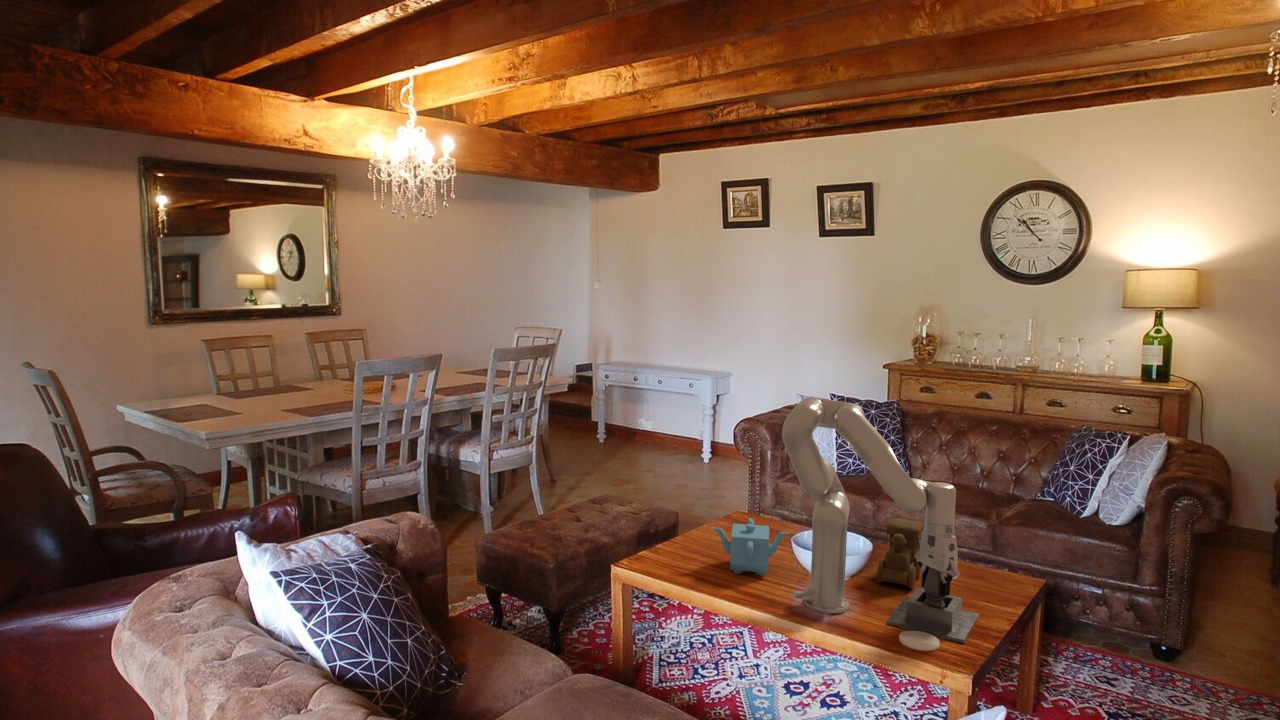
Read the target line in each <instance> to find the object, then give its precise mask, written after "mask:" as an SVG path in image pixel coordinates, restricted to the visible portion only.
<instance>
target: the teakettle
mask: <svg viewBox="0 0 1280 720" xmlns="http://www.w3.org/2000/svg"><path fill="white" fill-rule="evenodd" d="M754 522H755V519H754V518H753V517H749V518H748V523H745V524H744V523H732V529H731V535H730V541H729V540H728V538H727V536H726V533H725V531H724V530H723V528H720V527H718V526H717V527H716V526H712V527H711V529H712V530H714V531H716V532H717V534H718V536H719V538H720V541H721V545H722V547H723V549H724V551H725V552H726V553H728V554H730V556H729V557H730V560H729V561H730V562H729V570H730V571H732V573H733V572H734V573H733V574H735V573H736V574H737V575H741V574H743V572H752V573H755V575H756V574H757V576H759V575H763V576H765V575H766V574H767V573H769V557H772V556H773V555H775V554H776V552H777V551H778V549H779V547H780V544H781V541H782V539H783V538H784V537H785V536H787V535H790V532H788V531H781V532H779V533H778V534H776V537H775V539H774V541H773V542H772V543H771V544H770V527H769V525H759V524H758V525H757V524H755V523H754ZM740 573H741V574H740Z"/></svg>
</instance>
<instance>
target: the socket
mask: <svg viewBox="0 0 1280 720" xmlns="http://www.w3.org/2000/svg"><path fill="white" fill-rule="evenodd" d="M926 595H927V594H926V593H925V590H924V588H922V587H918V588H917V589H915V591H914V592H913V594H912V595H911V596H910V597H909V596H906V597H905V598H904V599H903V601H902V602H901V603H900V604H899V606H898V607H897V608H896V609H895V610H894V611H893V613H892V614H891V615H890V616H889V618H887V620H886V625H890V626H893V627H897V628H901V629H905V630H907V631H921V632H925V633H928V634H931V635H933V636H935V637H936V638H941V639H944V640H948V641H951V640H952V642H955V641H956V643H959V642H961V644H963V643H964V644H965V643H966V641H967V639H968V638H969V636H970V634H971V632H972V630H973V629H972V628H974V627H975V626H976V624H977V622H976V621H978V620H977V619H980V613H977V612H974V611H970V610H965V609H962V607H963V606H962V605H963V597H960V596H956V595H951V594H950V595H949V596H944V597H943V598H944V599H942V600H943V602H944V603H945V608H944V607H940V606H935V605H931V604H927V603H924V601H925V600H926V599H927V596H926ZM968 635H969V636H968ZM967 637H968V638H967Z"/></svg>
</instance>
